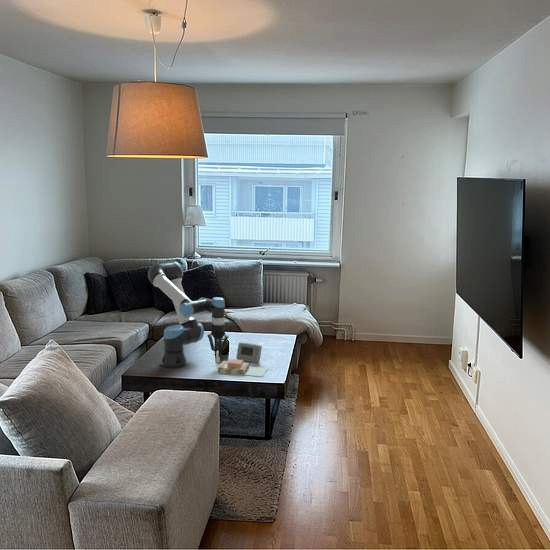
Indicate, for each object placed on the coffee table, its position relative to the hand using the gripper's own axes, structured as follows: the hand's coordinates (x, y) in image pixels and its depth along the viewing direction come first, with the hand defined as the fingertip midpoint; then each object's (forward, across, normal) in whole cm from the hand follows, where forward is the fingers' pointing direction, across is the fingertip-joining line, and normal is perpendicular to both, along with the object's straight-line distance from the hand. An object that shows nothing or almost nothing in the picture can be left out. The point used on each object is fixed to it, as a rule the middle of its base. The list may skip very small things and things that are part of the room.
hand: (217, 361), depth 326 cm
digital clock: (+5, +15, +19) cm, 24 cm away
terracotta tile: (+1, +11, 0) cm, 11 cm away
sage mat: (+4, +24, 0) cm, 24 cm away
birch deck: (+4, +10, 0) cm, 11 cm away
